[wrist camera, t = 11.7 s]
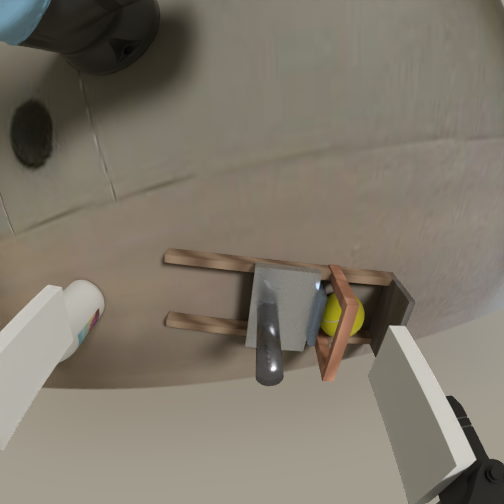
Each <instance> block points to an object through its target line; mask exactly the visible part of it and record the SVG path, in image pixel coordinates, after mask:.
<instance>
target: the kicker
mask: <svg viewBox="0 0 504 504" xmlns="http://www.w3.org/2000/svg"><path fill="white" fill-rule="evenodd" d="M321 277H322V272H321V270H320V269H318V268H308V267H299V266H289V265H280V264H271V263H262V262H256V263H255V271H254V279H253V287H252V294H251V302H250V310H249V318H248V326H247V333H246V342H245V347H253V348H256V380H257V381H258V382H259V383H260V384H262V385H266V386H273V385H277V384H279V383H280V382H281V381H282V380H283V363H282V351H281V350H289V351H303V350H304V346H305V342H306V339H307V344H308V346H315V342H316V339H317V335H318V331H319V328H320V324H321V321H322V317H323V313H324V309H325V305H326V302H327V295H326V292H325V289H324V286H323V284H322V281H321Z"/></svg>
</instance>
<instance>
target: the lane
mask: <svg viewBox="0 0 504 504" xmlns="http://www.w3.org/2000/svg"><path fill="white" fill-rule="evenodd" d="M165 262H166V263H174V264H182V265H191V266H199V267H208V268H217V269H225V270H234V271H243V272H252V273H254V271H255V263H256V262H262V263H271V264H280V265H289V266H299V267H308V268H318V269H320V270H321V272H322V277H321V280H330V283H331V285H332V287H333V290H334V292H335V295H336V297H337V300H338V302H339V305H340V307H341V310H342V312H341V315H340V318H339V322H338V325H337V328H336V332H335V335H334V338H333V337H331V336H329V335H328V334H326V333H325V332H324V331H323V329H322V328H321V327H320V328H319V331H318V335H317V339H316V342H315V349H316V353H317V358H318V363H319V367H320V372H321V377H322V381H333V380H334V378H335V375H336V373H337V370H338V367H339V365H340V362H341V359H342V356H343V354H344V351H345V348H346V345H347V343H351V344H370V346H371V348H372V350H373V353H374V355H375V357H376V356H377V354H378V352H379V349H380V347H381V344H382V342H383V340H384V337H385V335H386V332H387V330H388V327H389V326H405V327H406V325H407V322H408V320H409V317H410V315H411V312H412V310H413V307H414V304H415V301H414V299H413V298H412V297H411V295H410V294H409V293H408V292H407V290H406V289H405V288H404V286H403V285H402V284H401V282H400V281H399V280H398V279H397V277H396V276H395V275H394V274H393V273H392V272H383V271H373V270H364V269H354V268H345V267H340V266H338V265H329V266H326V265H317V264H307V263H298V262H289V261H280V260H271V259H261V258H252V257H243V256H234V255H225V254H216V253H207V252H198V251H189V250H181V249H172V248H169V249H168V250H167V252H166V253H165ZM348 282H351V283H362V284H373V285H383V288H382V291H381V294H380V297H379V300H378V303H377V306H376V309H375V312H374V315H373V318H372V321H371V324H370V326H369V329H368V330H358V331H357V332H356V333H355V334H354V335H352V336H350V334H351V331H352V328H353V325H354V322H355V319H356V316H357V312H358V309H359V306H360V305H359V303H358V301H357V299H356V297H355V295H354V293H353V291H352V289H351V287H350V285H349V283H348ZM166 326H170V327H177V328H183V329H191V330H198V331H206V332H214V333H222V334H231V335H240V336H246V333H247V326H248V321H240V320H231V319H222V318H214V317H206V316H198V315H190V314H183V313H176V312H169V314H168V317H167V319H166ZM306 341H307V339H306ZM328 343H332V344H331V347H330V348H329V345H328Z"/></svg>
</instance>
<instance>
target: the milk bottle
mask: <svg viewBox="0 0 504 504" xmlns="http://www.w3.org/2000/svg"><path fill="white" fill-rule="evenodd" d="M63 296H64V301H65V305H66V310H67V315H68V319H69V323H70V328H71V332H72V336H73V340H74V341H73V342H72V344H71V345H70V346H69V348H68V349H67V351H66V352H65V353H64V355H63V356H62V358H61V359H60V361H59V362H62V361H64V360H66V359H67V358H69V357H70V356H71V355H72V354H73V353H74V352H75V351H76V350H77V348H78V347H79V346H80V344H81V343H82V342H83V340H84V339H85V337H86V336H87V335H88V333H89V332H90V330H91V329H92V327H93V326H94V325H95V323H96V322H97V320H98V319H99V318H100V316H101V315H102V313H103V311H104V308H105V301H104V297H103V295H102V293H101V292H100V290H99V289H98V288H97V287H96V286H95V285H94V284H93V283H91V282H89V281H87V280H76V281H74V282H72V283H71V284H70V285H69V286H68V287H67V288H66V289H65V290H64V291H63ZM59 362H58V363H59Z"/></svg>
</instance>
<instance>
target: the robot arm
mask: <svg viewBox="0 0 504 504" xmlns="http://www.w3.org/2000/svg"><path fill="white" fill-rule="evenodd" d="M159 21H160V9H159V5H158V2H157V0H0V41H3V42H6V43H7V44H9V45H19V46H25V47H31V48H36V49H41V50H46V51H51V52H56V53H60V54H61V55H62V56H63V57H64V58H65V59H66V60H67V62H68V63H69V64H70V65H71V66H72V67H74V68H75V69H77V70H79V71H81V72H85V73H89V74H95V75H105V74H110V73H114V72H117V71H119V70H121V69H123V68H125V67H127V66H129V65H130V64H132V63H133V62H134V61H136V60H137V59H138V58H139V57H140V56H141V55H142V54H143V53H144V52H145V51H146V49H147V48H148V47H149V45H150V44H151V42H152V41H153V39H154V37H155V35H156V32H157V30H158V26H159ZM73 341H74V340H73V336H72V332H71V328H70V323H69V319H68V315H67V310H66V305H65V301H64V296H63V290H62V287H57V286H52V285H47V286H46V287H45V288H44V289H43V290H42V291H41V292H40V293H39V294H38V295H37V296H35V297H34V298H33V299H32V300H31V301H30V302H29V303H28V304H27V305H26V306H25V307H24V308H23V309H22V310H21V311H20V312H19V313H18V314H17V315H16V316H15V317H14V318H13V319H12V320H11V321H10V322H9V323H8V324H7V325H6V326H5V327H4V329H3V330H2V331H1V332H0V451H2V452H3V450H4V449H5V447H6V445H7V443H8V441H9V440H10V438H11V436H12V435H13V433H14V431H15V429H16V428H17V426H18V424H19V423H20V421H21V419H22V418H23V416H24V414H25V413H26V411H27V410H28V408H29V406H30V405H31V403H32V402H33V400H34V398H35V396H36V395H37V394H38V392H39V391H40V389H41V387H42V386H43V384H44V383H45V381H46V380H47V378H48V377H49V375H50V374H51V372H52V371H53V369H54V368H55V366H56V365H57V364H58V362H59V361H60V359H61V358H62V356H63V355H64V353H65V352H66V351H67V349H68V348H69V346H70V345H71V344H72V342H73ZM368 377H369V380H370V383H371V386H372V388H373V392H374V394H375V397H376V400H377V403H378V406H379V409H380V412H381V415H382V418H383V421H384V424H385V427H386V430H387V433H388V436H389V439H390V442H391V446H392V449H393V452H394V455H395V458H396V462H397V465H398V469H399V472H400V475H401V479H402V482H403V485H404V489H405V493H406V497H407V500H408V504H425V503H428V502H430V501H431V500H432V499H433V498H435V497H436V496H437V495H439V499H440V501H439V502H438V503H437V504H504V464H503V463H502V462H500V461H498V460H495V459H489V458H488V456H487V454H486V452H485V450H484V448H483V446H482V444H481V442H480V440H479V438H478V436H477V434H476V432H475V430H474V428H473V427H472V426H471V422H470V420H469V418H467V415H466V413H465V411H464V409H463V407H462V405H461V404H460V403H459V402H458V401H457V400H456V399H454V397H453V396H445V395H444V393H443V391H442V389H441V387H440V385H439V384H438V382H437V380H436V378H435V377H434V375H433V373H432V371H431V369H430V367H429V366H428V364H427V362H426V360H425V359H424V357H423V355H422V354H421V352H420V350H419V348H418V347H417V345H416V343H415V342H414V340H413V338H412V337H411V335H410V333H409V332H408V330H407V328H406V327H405V326H389V327H388V330H387V332H386V335H385V337H384V340H383V342H382V344H381V347H380V349H379V352H378V354H377V356H376V359H375V361H374V363H373V366H372V368H371V370H370V372H369V375H368Z"/></svg>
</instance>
